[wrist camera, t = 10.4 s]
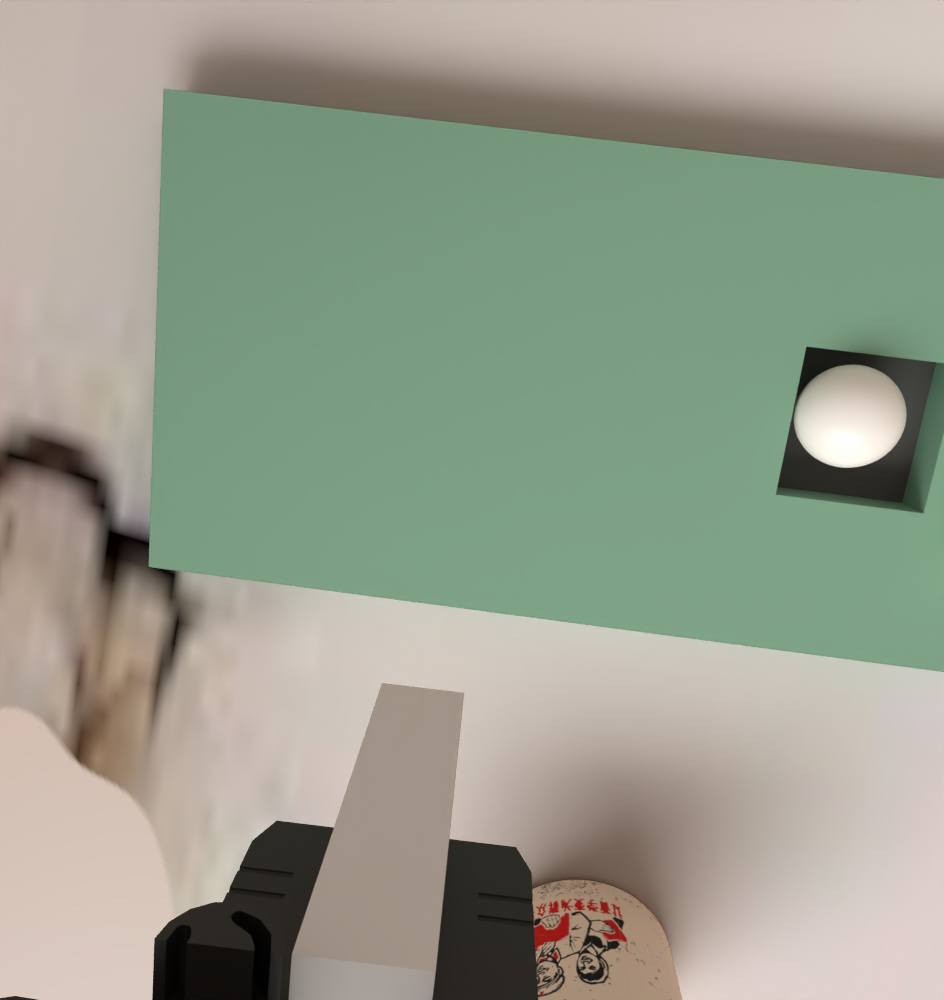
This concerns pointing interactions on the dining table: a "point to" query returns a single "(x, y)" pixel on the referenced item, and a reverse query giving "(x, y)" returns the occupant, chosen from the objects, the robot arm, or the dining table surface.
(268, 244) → the green slab with pocket
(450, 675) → the dining table surface
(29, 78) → the dining table surface
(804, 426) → the ball
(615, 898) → the teacup with lid
